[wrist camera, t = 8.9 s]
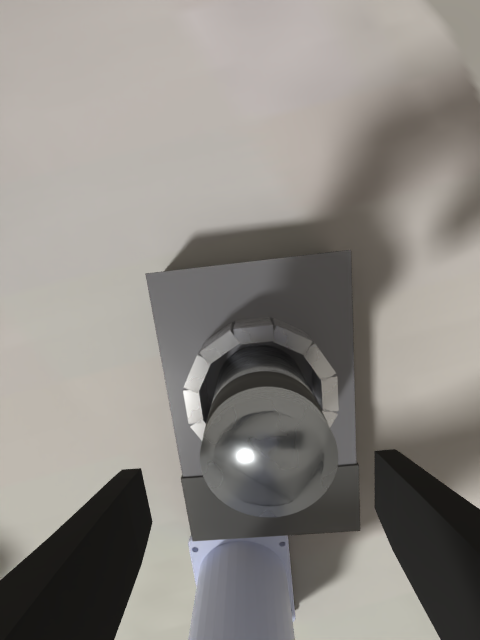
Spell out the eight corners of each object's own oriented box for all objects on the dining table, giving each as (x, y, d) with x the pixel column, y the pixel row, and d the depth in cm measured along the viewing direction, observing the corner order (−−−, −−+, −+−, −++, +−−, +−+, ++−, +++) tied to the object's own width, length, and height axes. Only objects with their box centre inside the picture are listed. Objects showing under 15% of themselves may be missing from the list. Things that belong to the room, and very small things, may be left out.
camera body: (343, 490, 20) (374, 563, 15) (200, 500, 21) (186, 574, 16) (334, 252, 16) (371, 246, 12) (161, 272, 17) (127, 275, 12)
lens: (309, 416, 16) (346, 507, 10) (227, 430, 16) (215, 526, 10) (296, 336, 15) (329, 385, 9) (208, 353, 15) (184, 410, 9)
